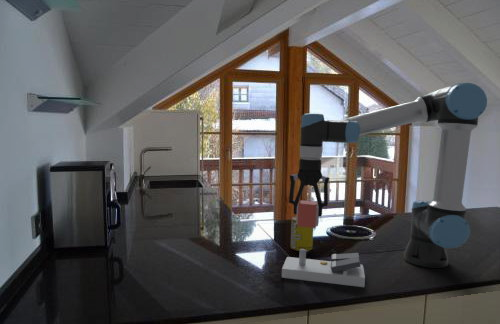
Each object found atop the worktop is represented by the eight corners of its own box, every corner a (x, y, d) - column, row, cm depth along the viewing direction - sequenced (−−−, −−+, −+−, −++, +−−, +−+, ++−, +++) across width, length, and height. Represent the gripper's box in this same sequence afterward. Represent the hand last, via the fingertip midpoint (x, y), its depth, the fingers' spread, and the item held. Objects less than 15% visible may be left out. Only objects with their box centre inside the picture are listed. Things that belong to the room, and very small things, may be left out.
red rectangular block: (316, 223, 135) (317, 201, 135) (314, 228, 130) (316, 204, 129) (299, 222, 137) (300, 200, 136) (297, 226, 131) (298, 203, 130)
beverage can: (299, 242, 163) (300, 215, 162) (316, 248, 156) (318, 219, 155) (285, 247, 157) (287, 218, 156) (303, 252, 150) (304, 222, 149)
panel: (362, 273, 130) (363, 250, 129) (364, 287, 118) (365, 262, 118) (286, 264, 136) (287, 243, 135) (281, 277, 124) (282, 253, 124)
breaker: (359, 261, 123) (358, 256, 123) (360, 266, 119) (359, 261, 119) (332, 266, 126) (331, 261, 126) (332, 272, 121) (330, 266, 121)
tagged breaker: (358, 257, 129) (358, 252, 129) (359, 262, 124) (359, 257, 124) (332, 259, 131) (331, 254, 131) (331, 263, 127) (331, 258, 126)
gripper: (339, 159, 132) (335, 224, 134) (285, 156, 137) (282, 219, 139) (338, 161, 125) (334, 229, 127) (281, 157, 130) (278, 224, 132)
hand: (307, 224), depth 133 cm, fingers closed on red rectangular block, 6 cm apart
